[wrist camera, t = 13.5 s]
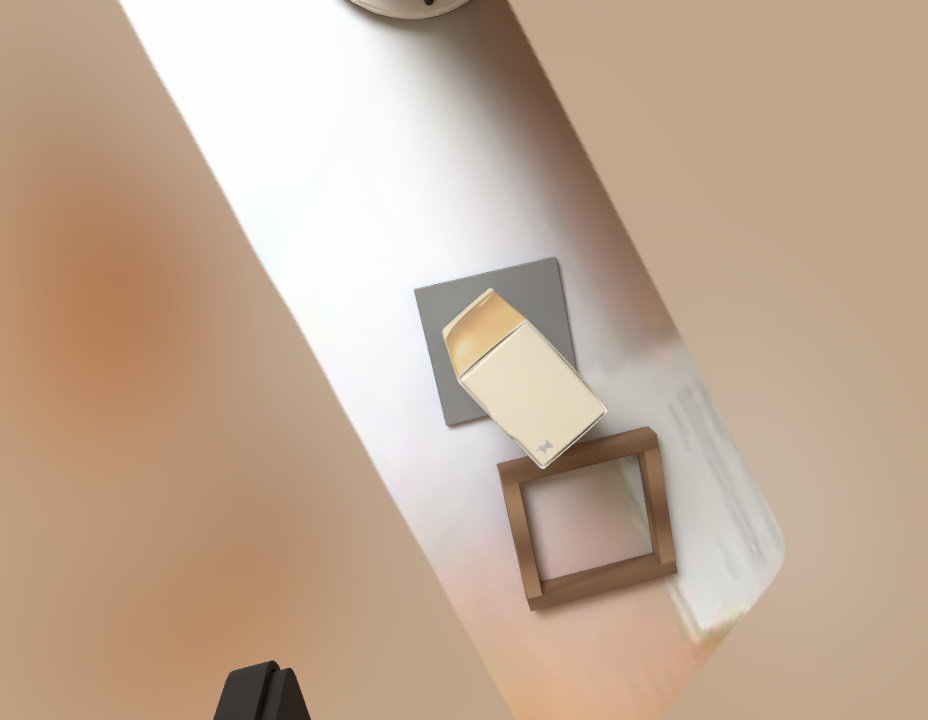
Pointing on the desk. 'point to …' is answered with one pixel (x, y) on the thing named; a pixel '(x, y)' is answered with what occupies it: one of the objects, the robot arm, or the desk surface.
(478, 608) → the desk surface
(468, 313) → the skincare box
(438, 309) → the rubber mat
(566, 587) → the square wooden frame
